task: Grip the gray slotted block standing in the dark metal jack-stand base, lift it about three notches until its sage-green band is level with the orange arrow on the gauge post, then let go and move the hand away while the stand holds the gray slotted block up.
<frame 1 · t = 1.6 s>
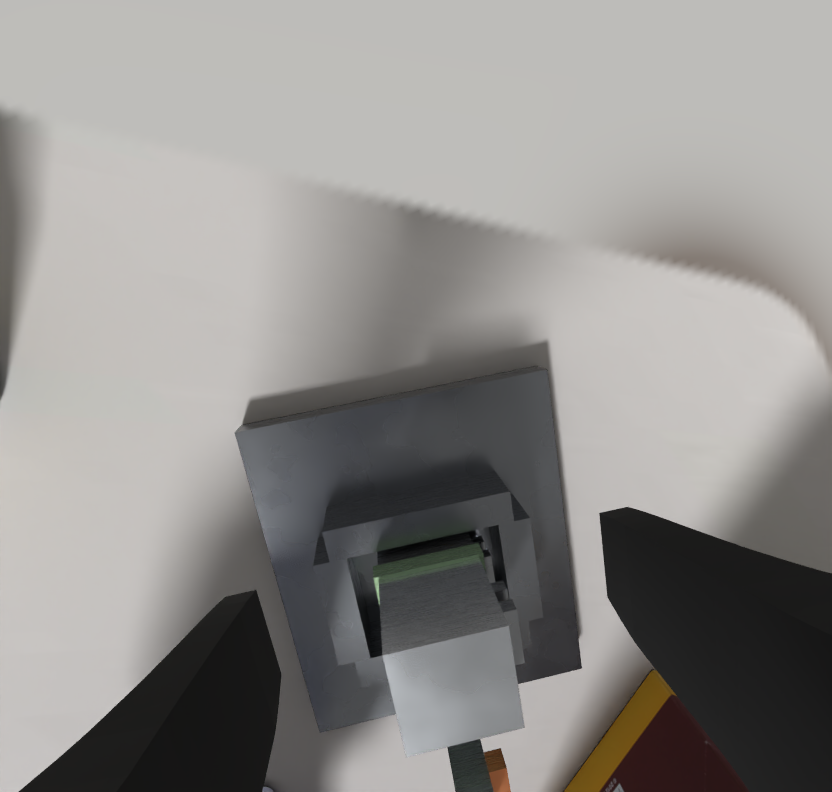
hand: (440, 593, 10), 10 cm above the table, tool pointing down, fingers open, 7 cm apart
stand base: (423, 549, 20), on the table
gray slotted block: (444, 613, 16), point 4 cm above the table, slide at 0.0 cm
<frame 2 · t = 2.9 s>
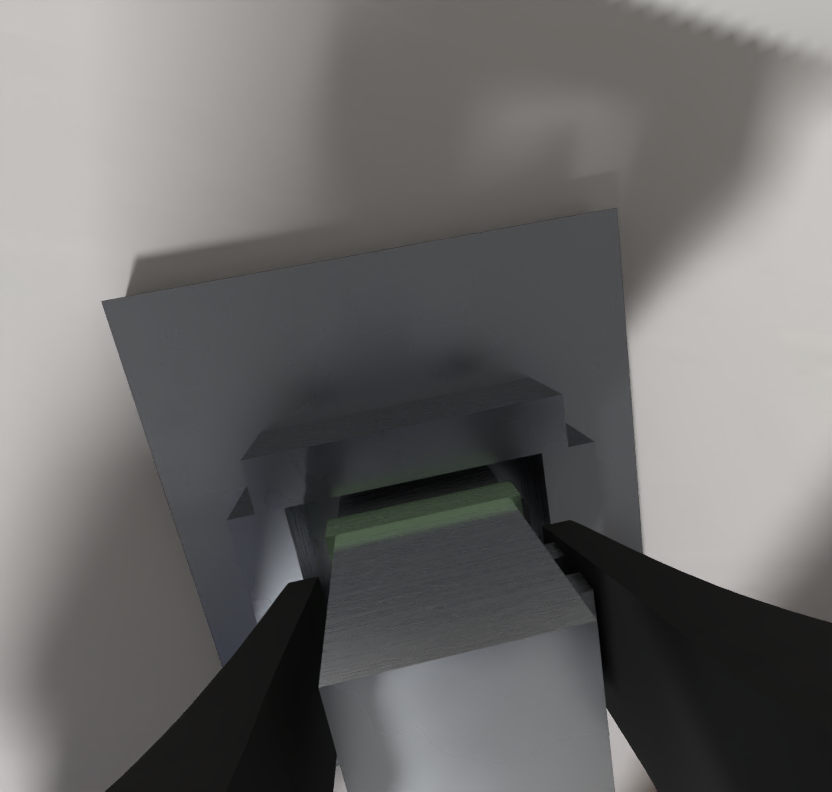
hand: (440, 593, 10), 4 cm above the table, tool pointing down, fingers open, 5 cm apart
stand base: (417, 508, 13), on the table
gray slotted block: (452, 601, 9), point 4 cm above the table, slide at 0.0 cm, touching gripper
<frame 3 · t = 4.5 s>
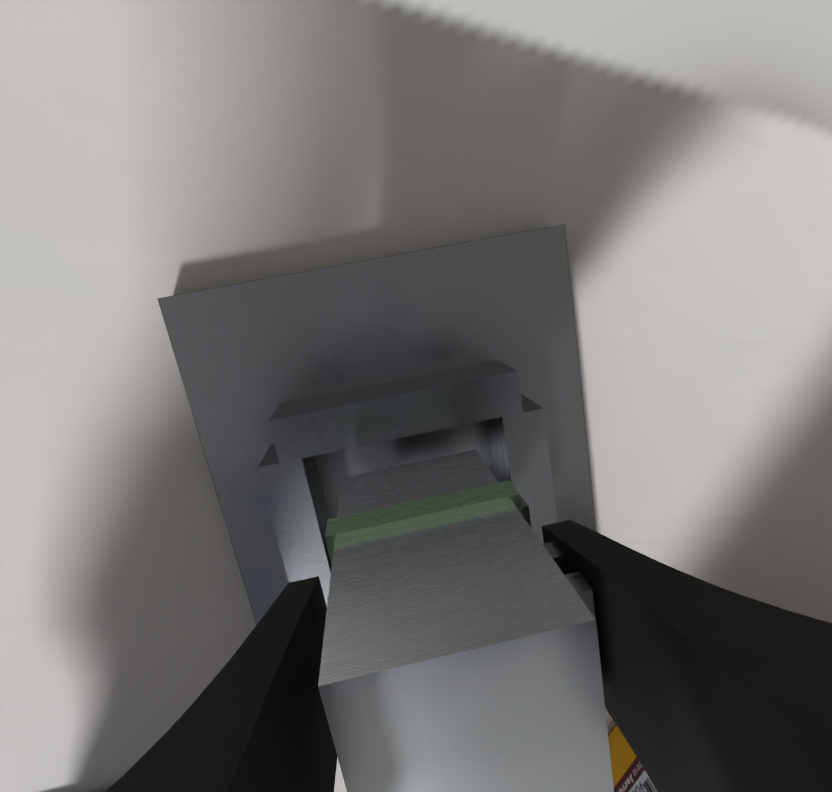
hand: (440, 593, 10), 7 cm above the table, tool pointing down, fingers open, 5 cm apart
stand base: (407, 469, 16), on the table
gray slotted block: (452, 601, 9), point 7 cm above the table, slide at 3.0 cm, touching gripper
supplement box: (673, 791, 21), on the table
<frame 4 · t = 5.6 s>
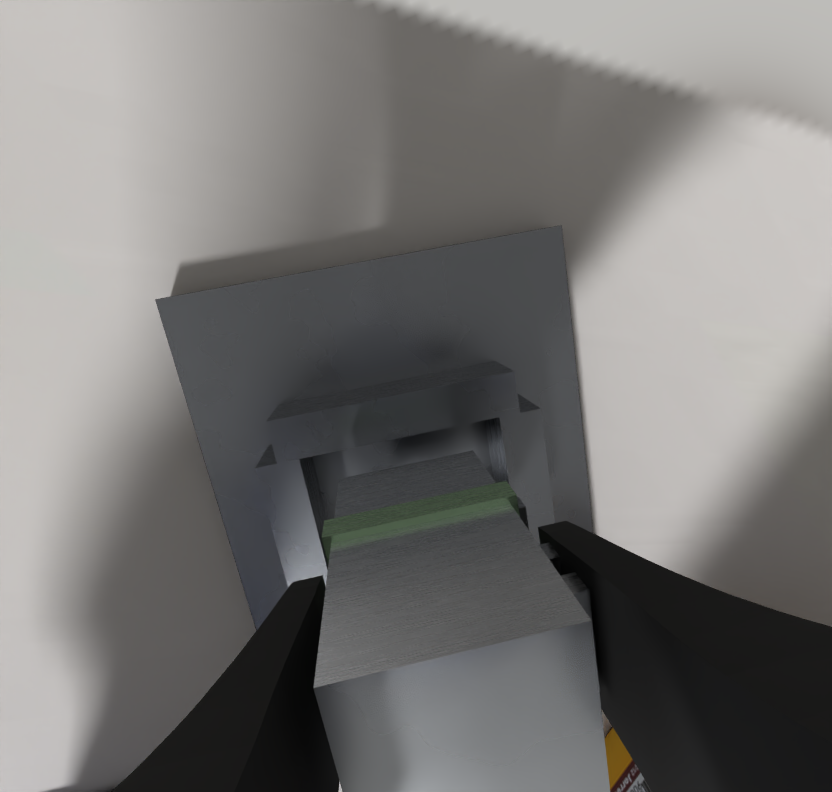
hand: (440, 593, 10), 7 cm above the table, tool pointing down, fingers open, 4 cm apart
stand base: (405, 469, 16), on the table
gray slotted block: (449, 602, 9), point 7 cm above the table, slide at 3.0 cm, touching gripper
supplement box: (672, 790, 21), on the table
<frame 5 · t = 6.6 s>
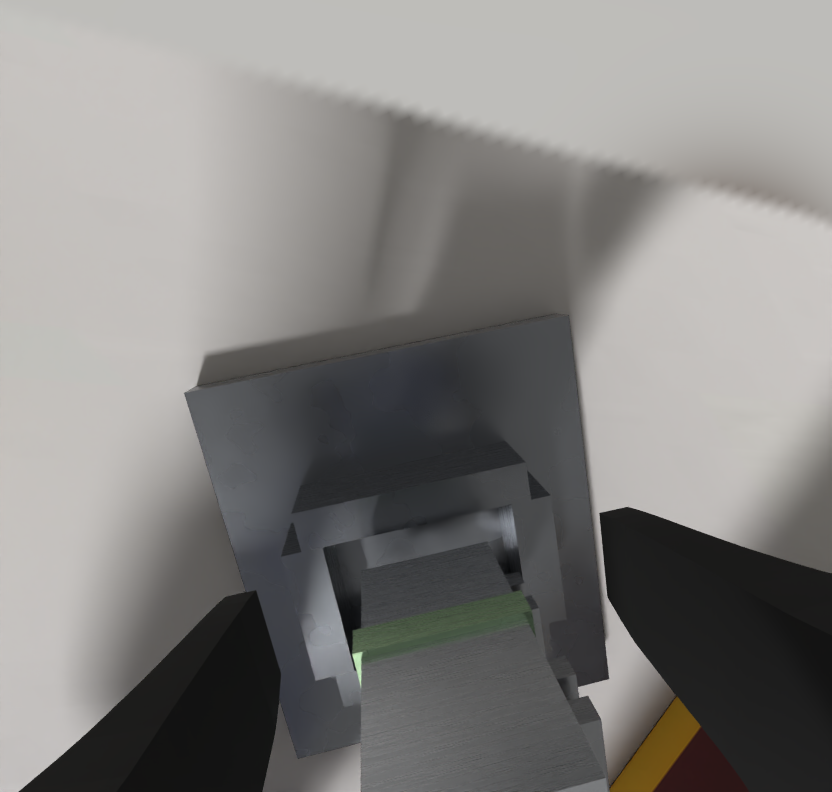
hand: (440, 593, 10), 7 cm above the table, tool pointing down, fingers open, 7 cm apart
stand base: (419, 538, 17), on the table
gray slotted block: (469, 707, 10), point 7 cm above the table, slide at 3.0 cm
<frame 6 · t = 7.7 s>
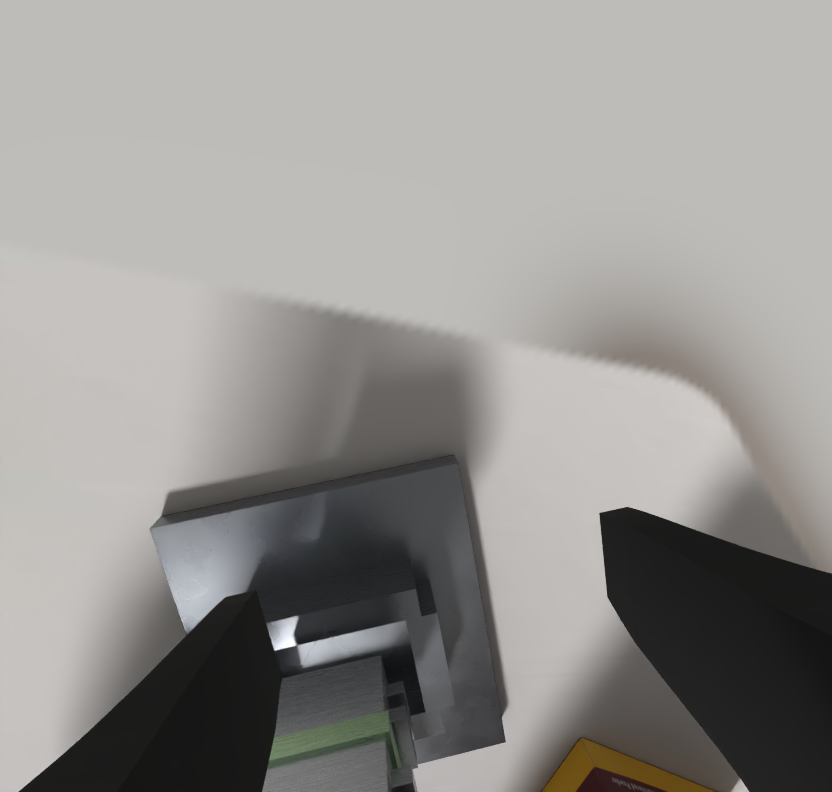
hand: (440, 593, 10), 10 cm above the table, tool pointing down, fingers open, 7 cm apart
stand base: (346, 629, 21), on the table
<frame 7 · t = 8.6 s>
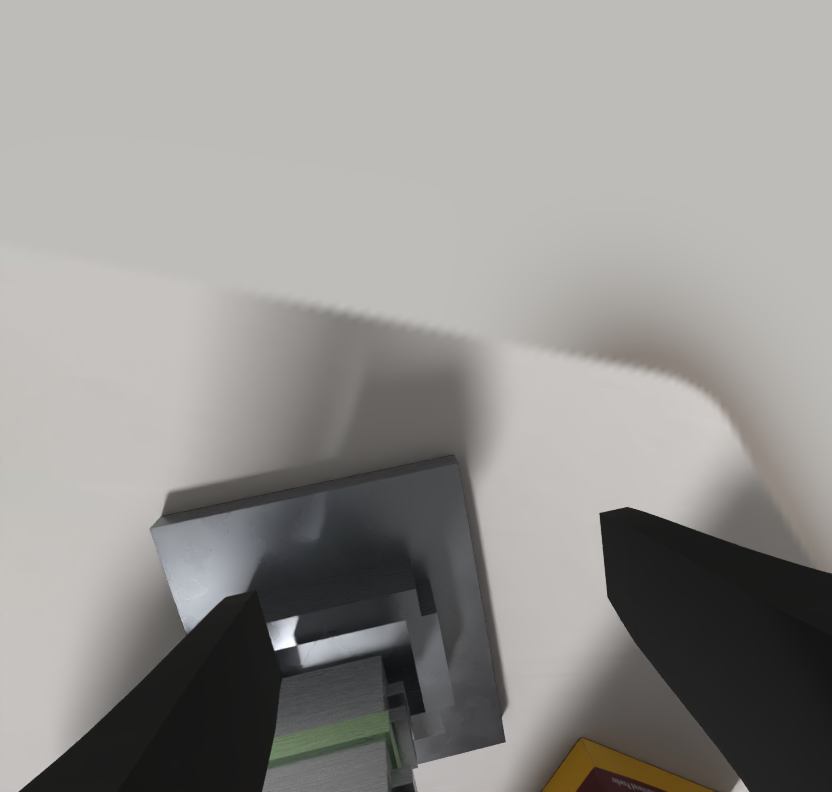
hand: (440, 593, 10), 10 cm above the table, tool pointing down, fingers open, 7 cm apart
stand base: (346, 629, 21), on the table
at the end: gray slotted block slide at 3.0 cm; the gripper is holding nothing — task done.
